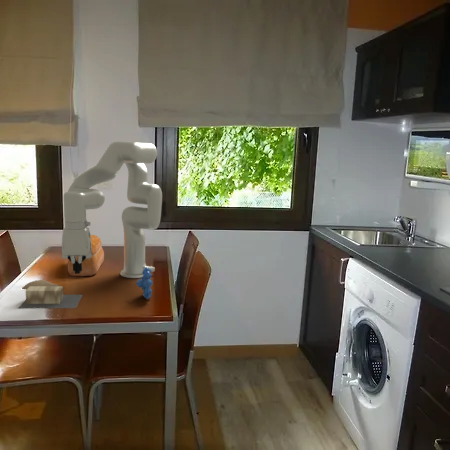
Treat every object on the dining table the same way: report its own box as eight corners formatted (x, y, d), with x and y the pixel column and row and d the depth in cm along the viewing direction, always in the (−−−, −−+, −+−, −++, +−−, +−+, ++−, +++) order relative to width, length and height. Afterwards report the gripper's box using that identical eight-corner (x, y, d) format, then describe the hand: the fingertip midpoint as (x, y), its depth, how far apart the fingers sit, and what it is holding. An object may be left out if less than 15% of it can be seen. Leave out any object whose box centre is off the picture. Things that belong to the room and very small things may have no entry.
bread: (105, 261, 222) (105, 232, 219) (96, 277, 196) (96, 244, 193) (78, 261, 220) (77, 231, 217) (65, 277, 195) (64, 243, 192)
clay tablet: (49, 282, 188) (48, 276, 187) (64, 287, 183) (64, 281, 182) (17, 291, 176) (17, 285, 175) (33, 297, 171) (33, 290, 170)
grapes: (135, 292, 179) (135, 264, 177) (151, 291, 181) (152, 263, 178) (136, 302, 168) (136, 272, 166) (154, 302, 170) (154, 272, 167)
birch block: (62, 286, 167) (29, 286, 165) (59, 290, 162) (25, 290, 160) (63, 298, 168) (30, 298, 166) (60, 303, 163) (26, 303, 161)
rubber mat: (83, 295, 173) (83, 294, 173) (75, 309, 159) (75, 308, 159) (29, 295, 170) (29, 294, 170) (17, 309, 156) (17, 308, 156)
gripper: (98, 222, 165) (99, 269, 169) (56, 222, 163) (59, 269, 167) (95, 227, 158) (96, 275, 162) (51, 227, 156) (54, 276, 160)
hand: (77, 272), depth 165 cm, fingers closed
